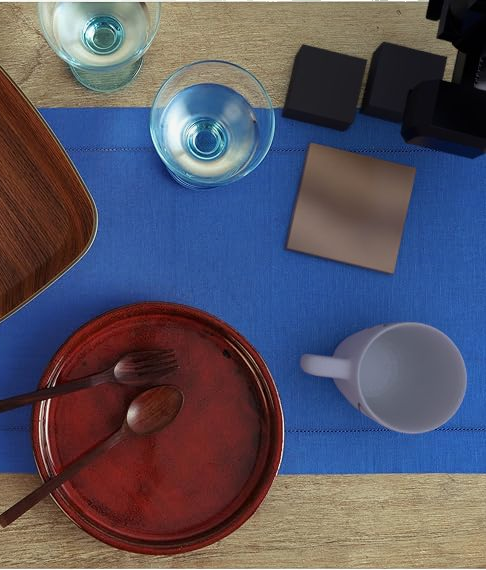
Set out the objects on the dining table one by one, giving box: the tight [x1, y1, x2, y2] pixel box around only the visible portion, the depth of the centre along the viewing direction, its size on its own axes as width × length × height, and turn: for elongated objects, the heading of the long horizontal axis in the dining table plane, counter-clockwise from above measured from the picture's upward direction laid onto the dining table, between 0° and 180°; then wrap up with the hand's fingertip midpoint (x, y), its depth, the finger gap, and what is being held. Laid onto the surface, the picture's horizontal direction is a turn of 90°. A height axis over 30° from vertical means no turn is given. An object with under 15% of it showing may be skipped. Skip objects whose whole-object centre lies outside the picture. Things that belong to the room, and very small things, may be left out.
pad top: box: [281, 43, 368, 133], centre depth 56 cm, size 6×6×2 cm
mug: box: [299, 321, 468, 435], centre depth 51 cm, size 11×8×10 cm
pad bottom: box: [358, 41, 448, 125], centre depth 57 cm, size 6×6×2 cm
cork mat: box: [283, 142, 418, 275], centre depth 57 cm, size 10×10×1 cm
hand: (420, 69), depth 53 cm, fingers open, 9 cm apart
